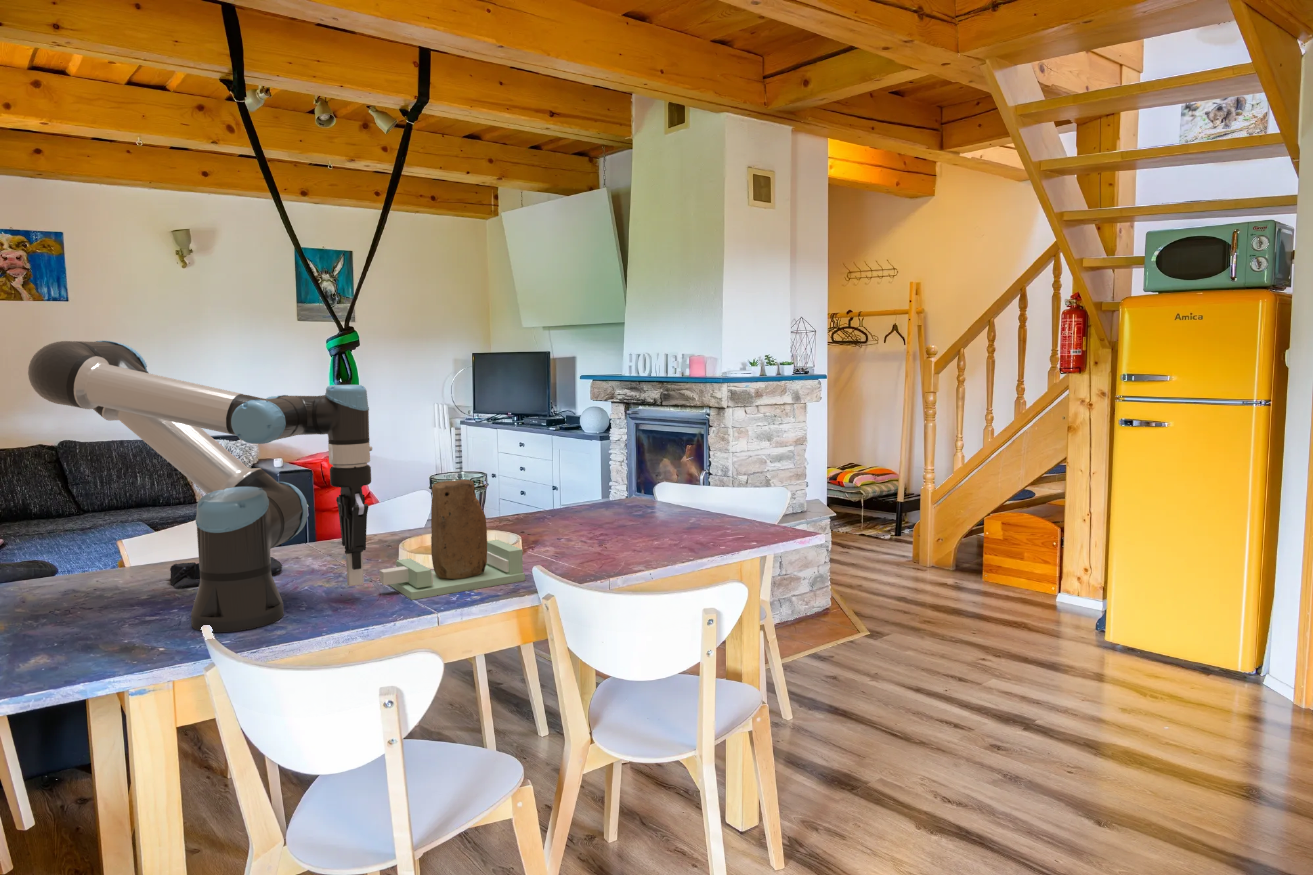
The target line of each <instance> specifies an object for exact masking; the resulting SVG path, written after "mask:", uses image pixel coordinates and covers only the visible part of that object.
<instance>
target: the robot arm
mask: <svg viewBox="0 0 1313 875" xmlns="http://www.w3.org/2000/svg"><path fill="white" fill-rule="evenodd" d="M147 367H148V364H147V362H146V361H145V359H144V358H143V356H142V355H141V354H140V353H139V352H138V351H137V350H136V349H134V348H133V347H132V346H129V345H127V344H124V343H121V342H115V341H111V340H95V341H83V340H82V341H80V340H79V341H75V340H74V341H72V340H61V341H54V342H51V343H49V344H47V345H44V346H43V347H42V348H40V349H39V350H37V351H36V352H35V353H34V354H33V356H32V357H31V359H30V362H29V365H28V368H27V371H28V372H27V375H28V381H29V383H30V386H32V388H33V390H34V391H35V392H36V393H37V394H38V395H39V396H40V397H42V399H45V400H47V402H49V403H50V402H51V403H53V404H57V405H61V406H62V405H63V406H70V407H74V408H79V409H85V410H93V411H94V412H96V414H98V415H99V416H100V417H102V418H103V419H104V420H106V421H119V422H121V423H122V424H123V425H124V426H125V427H126V428H128V429H129V430H130V431H131V432H132V433H134V435H136V436H137V437H138V438H140V439H141V440H142V441H143V442H145V443H146V444H147V445H148V446H149V447H150V448H152V449H153V450H154V451H155V452H156V453H157V454H158V455H160V456H161V457H162V458H163V459H165V461H167V462H168V463H169V464H170V465H172V467H174V468H175V469H176V470H178V471H179V472H180V473H181V474H182V475H183V476H185V477H186V478H187V479H188V480H189V481H190V482H192V483H193V484H195V485H196V487H198V489H200V490H202V492H204V493H205V495H203V496H202V497H200V499H199V500H198V501H197V503H196V515H195V525H196V535H197V536H196V537H197V550H198V553H197V554H198V563H199V569H200V579H199V580H200V585H199V586H198V588H197V592H196V596H195V599H194V602H193V605H192V610H191V611H190V612H191V613H190V618H191V623H190V624H191V627H192V628H193V629H194V630H197V631H200V629H201V627H202V626H203V625H210V626H211V627H212V629H213V631H214V632H213V633H228V632H229V633H230V632H239V631H240V632H241V631H246V629H247V630H252V629H256V627H257V628H261V627H263V626H267V625H270V624H273V623H274V622H276V621H279V620H281V619H282V618H283V617H284V615H285V614H284V612H285V611H284V601H283V599H282V596H281V594H280V592H279V589H278V587H277V584H276V582H275V579H274V577H273V575H272V574H271V557H272V556H271V549H274V548H275V547H277V546H279V545H282V544H285V543H287V542H289V541H291V540H292V539H293V538H294V537H295V536H297V535H298V534H299V533H300V532H301V531H303V529H304V527H305V525H306V522H307V520H308V516H309V510H308V509H309V508H308V507H309V506H308V502H307V499H306V497H305V495H304V494H303V492H302V491H301V490H300V489H299V488H298V487H296V486H295V485H293V484H292V483H289V482H285V481H277V480H275V479H274V477H272V476H271V475H270V474H268V473H267V472H266V471H265V470H263V469H262V468H260V467H256V468H254V467H253V468H250V467H248V466H246V465H245V464H244V463H243V462H242V461H240V459H238V458H237V457H236V456H234V455H233V454H232V453H231V452H230V451H228V450H227V449H226V448H225V447H224V446H223V445H222V444H220V443H219V442H218V441H217V440H216V439H214V438H213V437H212V436H211V435H210V434H209V433H208V432H206V431H205V430H209V431H214V432H219V433H223V434H227V435H233V436H236V437H238V439H240V440H241V441H242V442H244V443H247V444H253V445H254V444H258V445H259V444H260V445H264V444H268V443H271V442H273V441H277V440H282V439H286V438H292V437H296V436H304V435H305V436H308V435H327V437H328V438H327V440H328V441H327V442H328V445H327V448H328V463H329V465H331V467H330V468H329V477H330V478H329V483H330V485H331V486H332V487H334V488H340V494H339V495H338V496H337V497H336V504H337V509H338V517H339V525H340V526H339V527H340V534H341V536H340V537H341V545H342V547H344V554H345V557H346V558H345V561H346V562H345V563H346V581H347V583H346V584H347V586H348V587H354V586H360V585H364V582H365V581H364V563H363V562H364V560H363V559H364V558H363V552H364V551H366V549H367V528H368V527H367V524H368V523H367V522H368V521H367V520H368V511H369V505H368V503H366V500H365V499H366V498H365V494H364V493H363V489H362V487H364V486H368V485H370V484H371V483H372V466H370V465H369V463H370V462H371V451H373V447H372V446H371V445H370V444H371V443H370V425H369V424H370V420H369V419H370V415H369V413H370V412H369V411H370V407H369V403H368V402H369V401H368V393H367V392H368V391H367V389H366V387H365V386H364V385H362V384H333V385H332V384H331V385H328V386H327V387H326V389H325V393H324V394H323V395H288V394H282V395H276V396H274V395H271V396H267V397H266V398H263V397H259V396H255V395H254V396H253V395H251V394H250V395H249V394H244V393H239V392H235V391H230V390H227V389H221V388H217V387H212V386H207V385H203V384H200V383H199V384H198V383H194V382H189V381H185V380H181V379H176V378H172V377H167V376H163V375H158V374H153V373H149V371H148V369H147Z"/></svg>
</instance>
